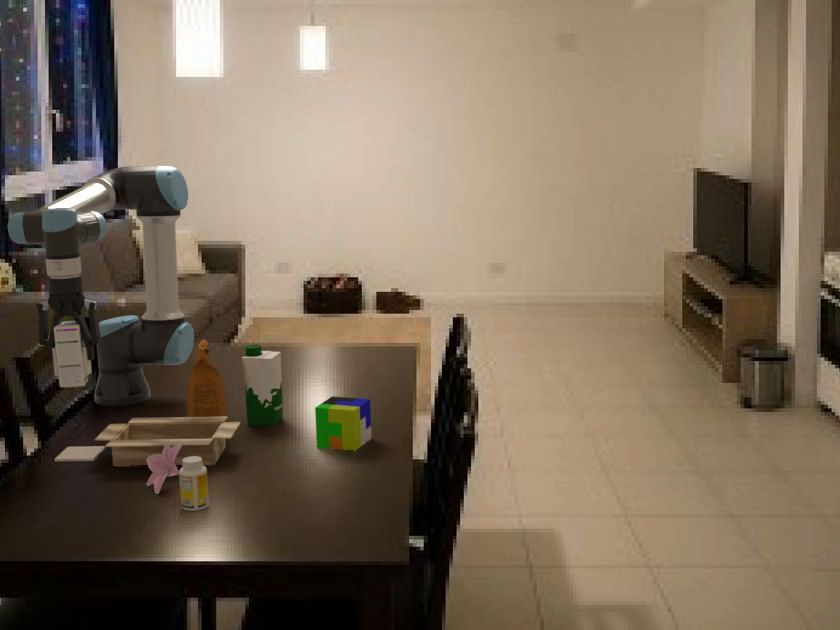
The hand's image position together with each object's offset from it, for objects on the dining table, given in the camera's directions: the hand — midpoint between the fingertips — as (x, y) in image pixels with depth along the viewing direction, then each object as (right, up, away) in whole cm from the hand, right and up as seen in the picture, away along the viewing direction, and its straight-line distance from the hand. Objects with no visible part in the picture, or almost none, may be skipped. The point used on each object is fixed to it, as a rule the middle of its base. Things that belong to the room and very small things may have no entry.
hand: (73, 373), depth 247 cm
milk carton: (+41, -14, +27) cm, 51 cm away
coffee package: (+27, -15, +23) cm, 38 cm away
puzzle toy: (+62, -17, +9) cm, 65 cm away
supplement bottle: (+35, -26, -30) cm, 53 cm away
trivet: (0, -19, +4) cm, 20 cm away
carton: (+22, -19, +2) cm, 30 cm away
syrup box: (0, -3, +1) cm, 3 cm away
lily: (+26, -24, -18) cm, 39 cm away
